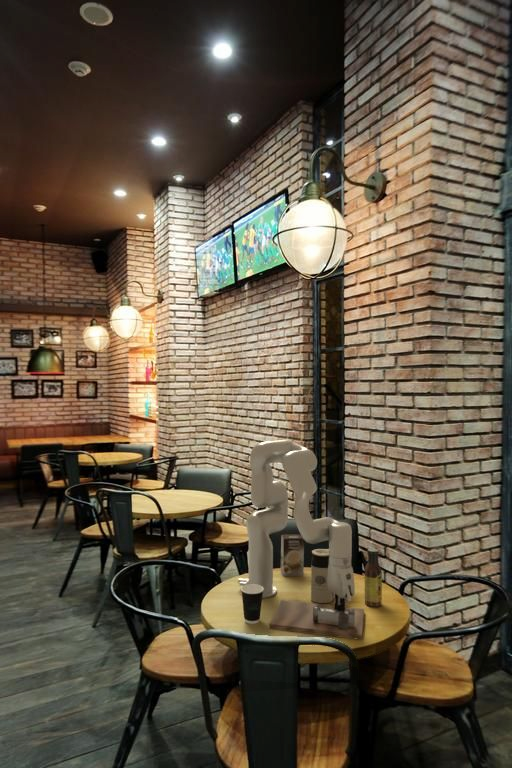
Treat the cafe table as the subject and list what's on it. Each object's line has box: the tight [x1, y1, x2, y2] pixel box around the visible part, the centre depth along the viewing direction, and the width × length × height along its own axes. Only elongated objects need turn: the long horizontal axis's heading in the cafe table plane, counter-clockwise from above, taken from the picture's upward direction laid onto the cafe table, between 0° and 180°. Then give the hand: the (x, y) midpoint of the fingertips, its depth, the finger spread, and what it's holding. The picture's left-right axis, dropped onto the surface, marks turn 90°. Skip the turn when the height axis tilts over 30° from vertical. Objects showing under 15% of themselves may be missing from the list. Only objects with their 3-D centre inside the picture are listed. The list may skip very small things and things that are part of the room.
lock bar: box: [313, 606, 355, 627], centre depth 168 cm, size 14×2×5 cm, turn 75°
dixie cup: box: [240, 584, 264, 625], centre depth 174 cm, size 8×8×11 cm
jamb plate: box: [268, 599, 365, 640], centre depth 174 cm, size 30×20×6 cm, turn 76°
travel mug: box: [310, 548, 333, 604], centre depth 192 cm, size 8×8×18 cm
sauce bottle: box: [364, 548, 383, 608], centre depth 188 cm, size 7×6×20 cm
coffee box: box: [280, 534, 305, 577], centre depth 220 cm, size 9×6×16 cm
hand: (339, 614), depth 171 cm, fingers closed
